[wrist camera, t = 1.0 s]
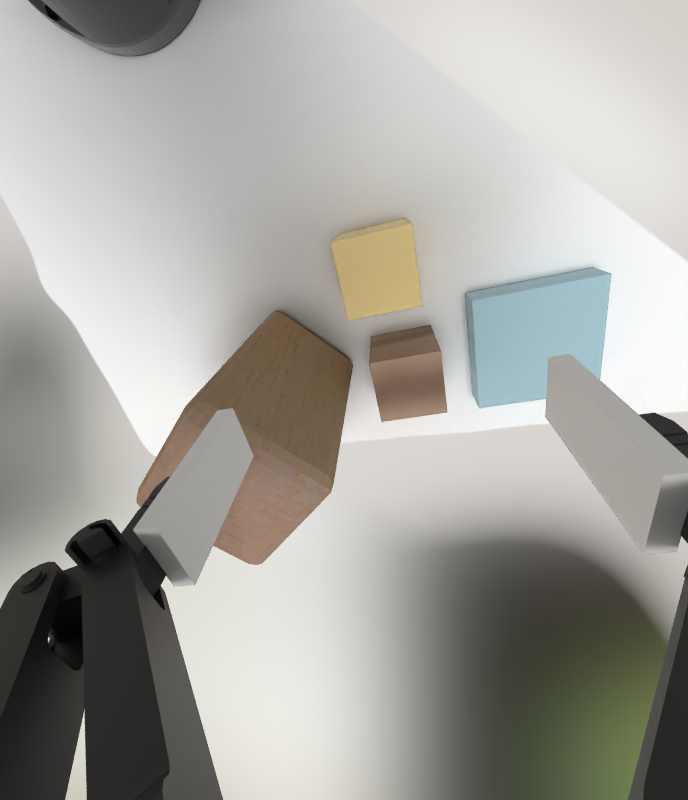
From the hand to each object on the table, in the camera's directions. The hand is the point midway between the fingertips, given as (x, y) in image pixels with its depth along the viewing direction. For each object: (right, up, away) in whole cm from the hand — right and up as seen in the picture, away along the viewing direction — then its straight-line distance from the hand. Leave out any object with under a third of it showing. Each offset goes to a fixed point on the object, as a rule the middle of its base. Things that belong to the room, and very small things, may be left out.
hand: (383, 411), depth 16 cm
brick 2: (+5, +5, +23) cm, 24 cm away
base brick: (+16, +7, +21) cm, 27 cm away
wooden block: (-7, +4, +25) cm, 26 cm away
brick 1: (+1, +13, +19) cm, 23 cm away
